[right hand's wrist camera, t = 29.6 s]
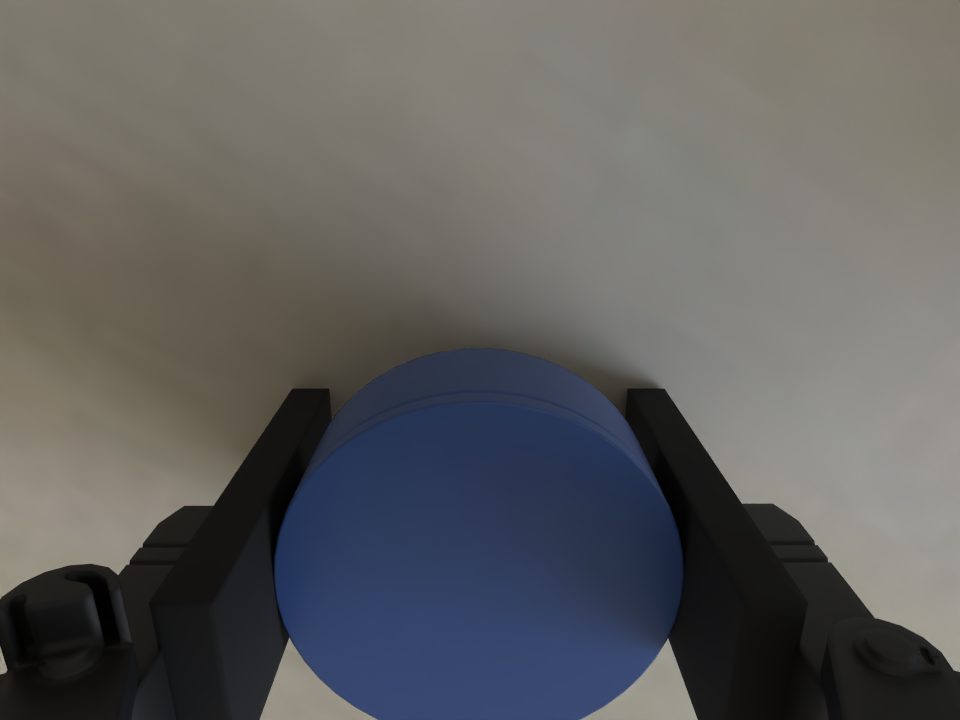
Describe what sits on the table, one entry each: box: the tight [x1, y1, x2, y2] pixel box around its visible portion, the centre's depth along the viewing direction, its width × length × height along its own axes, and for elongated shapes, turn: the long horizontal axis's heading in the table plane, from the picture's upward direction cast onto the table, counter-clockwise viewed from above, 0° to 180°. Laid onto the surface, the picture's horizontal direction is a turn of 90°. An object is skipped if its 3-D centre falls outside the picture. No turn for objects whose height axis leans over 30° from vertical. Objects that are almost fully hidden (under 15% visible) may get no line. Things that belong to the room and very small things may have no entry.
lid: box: [273, 349, 684, 720], centre depth 11 cm, size 6×6×2 cm
